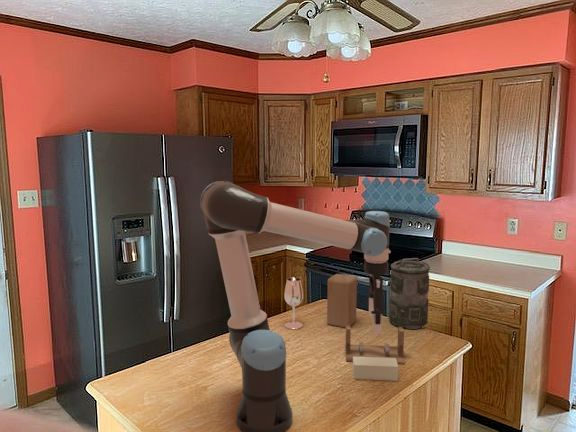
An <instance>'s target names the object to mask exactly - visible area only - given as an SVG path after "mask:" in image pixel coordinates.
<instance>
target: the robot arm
mask: <svg viewBox="0 0 576 432" xmlns="http://www.w3.org/2000/svg"><path fill="white" fill-rule="evenodd" d="M199 199H200V200H199V205H200V210H201V211H202V213H203V215H204V221H205V226H206V229H207V234H208V235H209V236H211V237H212V238H214V241H215V245H216V246H215V247H216V249H217V254H218V260H219V263H220V268H221V269H220V270H221V273H222V279H223V283H224V288H225V292H226V296H227V301H228V307H229V310H230V311H229V312H230V317H229V319H228V320H227V326H228V332H229V334H228V335H229V336H228V338H229V340H228V341H229V345H230V347H231V350H232V351H233V353H234V355H235V357H236V359H237V362H238V363H239V366H240V368H241V377H242V379H241V380H242V382H241V383H242V387H241V388H242V394H241V398H240V401H239V404H238V407H237V411H236V425H237V427H238V429H239V430H240V431H241V432H285V431H286V430H288V429H289V428H290V427H291V425H292V423H293V410H292V407H291V404H290V401H289V397H288V395H287V389H286V387H287V386H286V385H287V384H286V382H287V381H286V380H287V379H286V378H287V376H286V375H287V373H286V371H287V370H286V369H287V365H286V363H287V361H286V360H287V348H286V342H285V339H284V338H283V336H281V335H280V334H279V333H277V332H276V331H275V332H273V331H272V330H270V326H269V321H268V314H267V313H266V312H265V311H263V310H262V309H261V306H260V302H259V296H258V290H257V286H256V280H255V277H254V271H253V266H252V265H253V264H252V262H251V261H252V260H251V255H250V250H249V246H248V241H247V235H246V232H248V233H254V234H261V233H262V232H268V233H271V234H278V235H282V236H286V237H290V238H295V239H298V240H305V241H309V242H314V243H318V244H322V245H328V246H332V247H337V248H341V249H345V250H350V251H354V252H357V253H362V254H363V259H364V261H363V263H364V264H363V271H364V273H365V274H367V275H369V277H368V281H369V282H368V284H369V285H368V292H367V293H368V318H372V334H375V335H382V334H383V333H382V331H383V329H382V328H383V315H384V303H383V302H384V300H383V299H384V298H383V291H384V290H383V289H384V288H383V284H384V279H383V278H382V277H381V276H382V275H384V276H385V275H387V274H388V273H389V261H388V260H389V254H391V252H392V251H391V250H390V248H389V247H390V228H391V224H390V221H391V220H390V214H389V213H388V212H386V211H381V210H370V211H366V212H365V214H364V217H363V218H360V219H340V218H336V217H332V216H328V215H324V214H320V213H316V212H311V211H308V210H303V209H301V208H297V207H296V208H295V207H291V206H288V205H283V204H279V203H276V202H272V201H270V200H269V197H267V196H264V195H260V194H256V193H253V192H252V191H249V190H247V189H245V188H243V187H241V186H239V185H236V184H234V183H233V182H231V181H228V180H221V181H215V182H211V183H210V184H209V185H207V186H206V187H205V188H204V189H203V191H202V193H201V195H200V198H199Z"/></svg>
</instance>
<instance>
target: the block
mask: <svg viewBox="0 0 576 432" xmlns="http://www.w3.org/2000/svg"><path fill="white" fill-rule="evenodd" d="M357 288H358V277H357V276H355V275H348V274H341V273H340V274H339V273H335V274H334V275H332V276H331V277H329V278H327V296H326V297H327V298H326V300H327V301H326V302H327V303H326V306H327V307H326V310H327V311H326V320H327V321H326V322H327V325H330V326H334V327H339V328H340V327H341V328H345V329H346V325H350V327H351V326H353V324H354V323H355V322H356V321H357V297H358V296H357V295H358V291H357Z"/></svg>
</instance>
